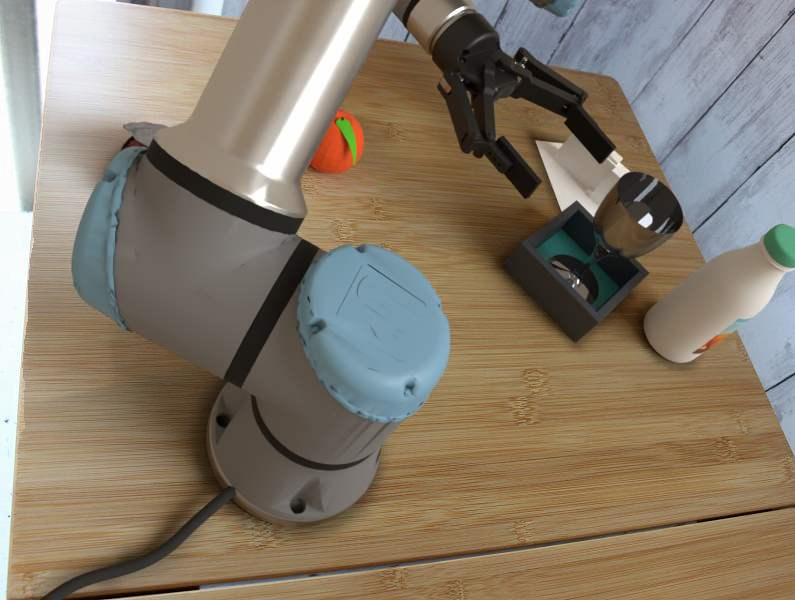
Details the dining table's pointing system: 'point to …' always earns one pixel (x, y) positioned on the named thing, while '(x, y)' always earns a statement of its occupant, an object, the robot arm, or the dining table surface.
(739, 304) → the milk bottle
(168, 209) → the robot arm
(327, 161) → the clementine
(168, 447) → the dining table surface
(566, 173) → the napkin holder
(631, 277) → the dark grey open box
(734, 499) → the dining table surface
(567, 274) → the wine glass
